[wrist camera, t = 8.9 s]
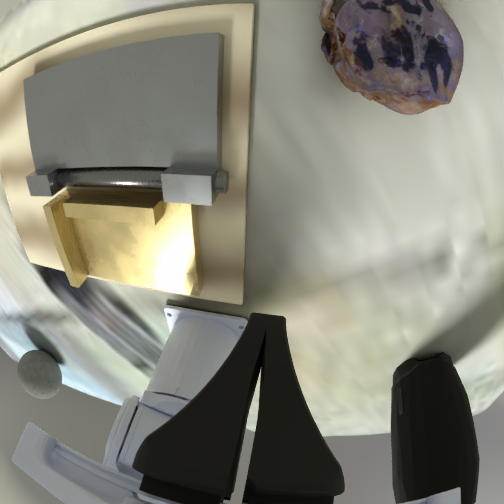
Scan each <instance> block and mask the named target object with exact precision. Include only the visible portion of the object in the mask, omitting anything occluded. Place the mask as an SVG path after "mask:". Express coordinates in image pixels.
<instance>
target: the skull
mask: <svg viewBox="0 0 504 504" xmlns="http://www.w3.org/2000/svg"><path fill="white" fill-rule="evenodd" d="M334 4H335V0H323V1H322V10H321V13H320V18H319V19H320V23H321V25H322V28H323V30H324V31H325V32H326V33H325V35H324V37H323V39H322V44H321V49H322V51H323V52H324V53H325V57H326V59H327V61H328V62H329V63H330V64H331V65H334V69H335V71H336V74H337V75H338V77H339V78H340V80H341V82H342V83H343V84H344V85H345V86H346V87H347V88H349V89H350V90H351V91H353V92H360V93H361V94H362V95H363V96H364V97H365V98H366V99H368V100H372V99H373V100H374V101H377V102H378V103H380V104H382V105H384V106H385V107H387V108H389V109H391V110H393V111H396V112H399V113H402V114H406V115H413V114H419V113H422V112H424V111H426V110H428V109H430V108H435V107H437V106H439V105H443V104H449V103H450V101H451V99H452V97H453V94H454V92H455V90H456V87H457V85H458V82H459V79H460V75H461V71H462V66H463V40H462V37H461V35H460V33H459V31H458V29H457V27H456V25H455V24H454V22H453V20H452V19H451V18H450V16H449V15H448V14H447V13H446V11H445V10H444V9H443V8H442V7H441V6H440V5H439V4H438V3H437V2H436V0H348V1H347V2H346V3H345V4H344V5H343V6H342V7H341V9H340V10H339V12H338V15H337V17H336V15H335V12H334V11H333V10H332V8H333V6H334Z"/></svg>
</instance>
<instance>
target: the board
mask: <svg viewBox="0 0 504 504" xmlns="http://www.w3.org/2000/svg"><path fill="white" fill-rule="evenodd" d="M254 10H255V5H254V4H253V3H235V4H216V5H204V6H195V7H187V8H179V9H173V10H167V11H161V12H156V13H151V14H146V15H142V16H137V17H133V18H129V19H125V20H122V21H118V22H114V23H111V24H108V25H104V26H101V27H98V28H95V29H92V30H89V31H86V32H84V33H81V34H78V35H76V36H73V37H70V38H68V39H65V40H63V41H61V42H58V43H56V44H54V45H51V46H49V47H47V48H45V49H43V50H41V51H39V52H37V53H35V54H33V55H31V56H29V57H27V58H25V59H23V60H21V61H19V62H17V63H16V64H14V65H12V66H10V67H9V68H7V69H5V70H4V71H2V72H0V173H1V178H2V182H3V185H4V189H5V193H6V196H7V200H8V203H9V206H10V210H11V213H12V216H13V219H14V222H15V225H16V227H17V230H18V233H19V236H20V238H21V241H22V244H23V246H24V249H25V251H26V254H27V256H28V258H29V261H30V262H31V263H35V264H38V265H42V266H46V267H50V268H54V269H58V270H62V271H65V270H64V267H63V265H62V262H61V260H60V257H59V255H58V252H57V249H56V246H55V244H54V241H53V238H52V235H51V232H50V229H49V226H48V223H47V219H46V216H45V213H44V209H43V206H44V205H45V204H46V203H48V202H49V201H50V200H52V199H53V198H54V197H56V196H57V195H59V194H60V193H61V192H63V191H64V190H113V191H138V192H157V193H163V190H162V189H145V188H119V187H65V188H63V189H62V190H60V191H59V192H58V193H56V194H55V195H54V196H52V197H49V196H30V192H29V188H28V184H27V180H26V176H27V175H29V174H30V173H32V172H33V171H35V167H34V162H33V157H32V152H31V146H30V140H29V134H28V127H27V119H26V110H25V100H24V85H23V79H25V78H27V77H30V76H32V75H34V74H36V73H39V72H41V71H44V70H46V69H49V68H51V67H54V66H56V65H59V64H62V63H64V62H67V61H70V60H73V59H76V58H79V57H82V56H85V55H89V54H92V53H95V52H99V51H103V50H106V49H110V48H114V47H118V46H123V45H127V44H132V43H137V42H142V41H147V40H153V39H159V38H166V37H173V36H181V35H190V34H202V33H218V32H219V33H221V34H223V35H225V39H224V67H223V109H222V170H226V171H228V172H229V186H228V190H227V193H226V194H221V193H220V194H219V195H218V197H217V198H216V200H215V202H214V203H213V205H212V206H207V205H197V209H198V225H199V240H200V253H201V265H202V277H203V288H202V291H201V293H200V296H194V295H188V294H182V293H176V292H171V291H165V290H160V289H154V288H149V287H144V286H139V285H133V284H128V283H124V282H119V281H114V280H109V279H104V278H100V277H95V276H91V275H88V277H92V278H96V279H101V280H105V281H110V282H115V283H120V284H124V285H129V286H134V287H139V288H144V289H150V290H155V291H160V292H166V293H171V294H177V295H182V296H188V297H194V298H200V299H206V300H212V301H219V302H225V303H232V304H239V305H242V303H243V291H244V258H245V228H246V199H247V171H248V145H249V120H250V96H251V73H252V51H253V31H254ZM118 167H147V166H118ZM81 168H99V167H81ZM163 168H169V167H163ZM67 169H72V168H67Z"/></svg>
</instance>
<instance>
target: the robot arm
mask: <svg viewBox="0 0 504 504" xmlns="http://www.w3.org/2000/svg"><path fill="white" fill-rule="evenodd" d="M164 312H165V316H166V320H167V324H168V328H169V331H170V335H169V338H168V340H167V342H166V345H165V347H164V349H163V352H162V354H161V356H160V359H159V361H158V363H157V366H156V368H155V370H154V373H153V375H152V378H151V380H150V383H149V385H148V387H147V390H145V392H144V394H143V397H142V399H141V402H139V399H140V398H139V397H137V396H132V398H127V399H125V401H124V403H123V405H122V407H121V409H120V411H119V413H118V415H117V418H116V420H115V423H114V425H113V428H112V430H111V433H110V436H109V439H108V442H107V445H106V449H105V452H106V454H105V457H104V461H103V463H102V464H100V463H98V462H96V461H94V460H92V459H90V458H88V457H86V456H84V455H82V454H80V453H78V452H76V451H75V450H73V449H71V448H69V447H67V446H66V445H64V444H62V443H60V442H59V441H57V440H56V439H55V438H54V437H52V436H50V435H49V434H47V433H46V432H44V431H43V430H41V429H40V428H38V427H37V426H35V425H34V424H32V423H31V422H28V424H27V426H26V428H25V430H24V432H23V434H22V437H21V439H20V441H19V443H18V446H17V448H16V450H15V452H14V455H13V457H12V462H13V463H15V464H16V465H17V466H18V467H19V468H21V469H22V470H23V471H24V472H25V473H27V474H28V475H29V476H30V477H32V478H33V479H34V480H35V481H37V482H38V483H39V484H40V485H42V486H43V487H44V488H45V489H47V490H48V491H49V492H50V493H52V494H53V495H54V496H56V497H57V498H58V499H60V500H61V501H62V502H64V503H65V504H225V503H223V500H230V498H231V494H232V493H233V492H234V487H235V482H236V476H237V471H238V467H239V463H240V455H241V450H242V444H243V439H244V434H245V428H246V423H247V418H248V413H249V409H250V406H251V402H252V399H253V395H254V391H255V388H256V384H257V380H258V377H259V373H260V369H261V380H260V395H259V410H258V419H257V425H256V431H255V437H254V442H253V448H252V453H251V459H250V464H249V470H248V475H247V480H246V485H245V491H244V495H243V500H242V504H333V501H334V496H336V495H340V494H342V493H343V492H344V489H345V484H344V477H343V472H342V469H341V466H340V464H339V463H338V461H337V460H336V458H335V457H334V455H333V454H332V452H331V451H330V449H329V447H328V446H327V444H326V442H325V440H324V439H323V437H322V435H321V433H320V431H319V429H318V427H317V425H316V423H315V421H314V419H313V417H312V415H311V413H310V410H309V408H308V406H307V404H306V401H305V398H304V396H303V393H302V391H301V388H300V385H299V382H298V379H297V376H296V373H295V369H294V366H293V362H292V358H291V354H290V349H289V344H288V338H287V331H286V318H285V317H284V316H276V315H268V314H261V313H252V314H251V315H250V318H249V320H248V321H247V320H246V319H245V318H242V317H235V316H229V315H222V314H216V313H210V312H204V311H199V310H193V309H187V308H182V307H177V306H171V305H166V306H165V308H164ZM400 504H461V491H460V488H459V487H458V488H455V489H452V490H449V491H446V492H442V493H439V494H435V495H432V496H429V497H428V498H424V499H419V500H415V501H410V502H406V503H400Z"/></svg>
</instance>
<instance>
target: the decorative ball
mask: <svg viewBox="0 0 504 504" xmlns="http://www.w3.org/2000/svg"><path fill="white" fill-rule="evenodd" d="M18 377H19V380H20V383H21V385H22V386H23V388H24V389H25V390H26V391H27V392H28V393H29V394H30V395H32V396H34V397H36V398H40V399H47V398H50V397H52V396H54V395H55V394H56V393H57V392H58V391H59V389H60V387H61V383H62V374H61V370H60V367H59V365H58V363H57V362H56V361H55V359H54V358H53V357H52V356H51V355H49V354H48V353H46V352H44V351H41V350H32V351H29V352H27V353H25V354H24V355H23V356H22V357H21V359H20V361H19V364H18Z"/></svg>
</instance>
